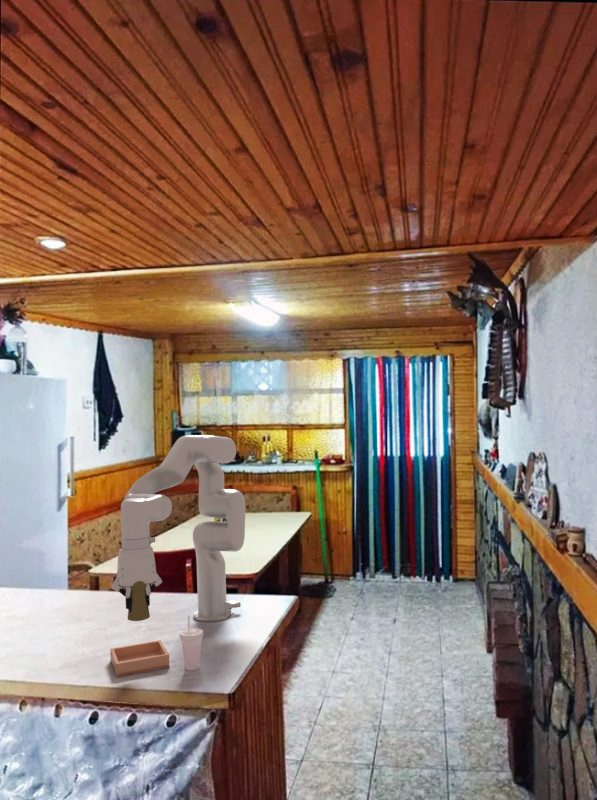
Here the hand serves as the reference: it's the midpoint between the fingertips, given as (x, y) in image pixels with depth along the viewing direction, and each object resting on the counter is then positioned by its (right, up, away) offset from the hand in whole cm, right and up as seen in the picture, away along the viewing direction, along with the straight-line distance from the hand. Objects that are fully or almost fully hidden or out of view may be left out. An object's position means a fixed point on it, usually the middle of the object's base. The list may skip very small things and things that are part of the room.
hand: (137, 609), depth 179 cm
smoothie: (+16, -15, -3) cm, 22 cm away
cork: (0, -2, 0) cm, 2 cm away
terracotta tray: (+1, -15, 0) cm, 15 cm away
